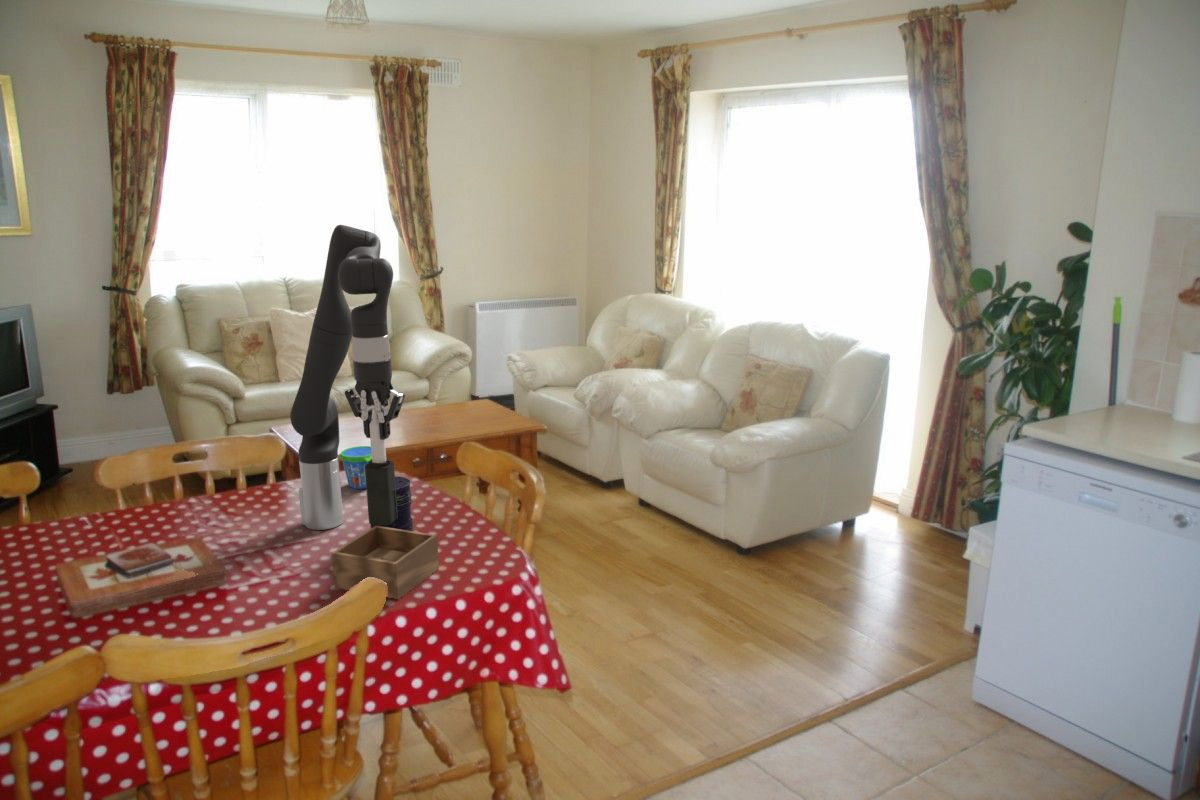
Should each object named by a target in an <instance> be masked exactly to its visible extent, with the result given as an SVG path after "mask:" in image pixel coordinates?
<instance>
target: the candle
mask: <svg viewBox="0 0 1200 800" xmlns="http://www.w3.org/2000/svg"><path fill="white" fill-rule="evenodd" d="M373 410H374V411H373V417H372V420H371V422H370V424H369V427H370V438H369V439H370V446H371V454H372V459H371V460H370V461H368V464H367V465H366V466H365V476H366V488H365V489H366V497H367V498H366V499H367V500H366V501H367V502H366V503H367V512H368V514H367V515H368V524H370V525H371V524H373V525H390V524H392V522H393V521H394V520H396V519H397V518H398V515H397V500H396V486H395V476H396V473H395V462H394V461H393V460H391V459H390V458H388V457H387V452H386V451H387V450H386V439H385V440H381V439H380V429H379V423H380V420H379V415H378V412H376V409H375V407H374V409H373Z"/></svg>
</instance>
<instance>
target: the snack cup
mask: <svg viewBox="0 0 1200 800" xmlns="http://www.w3.org/2000/svg"><path fill="white" fill-rule="evenodd" d="M339 458H340V459H341V461H342V463H343V468H344V473H345V477H346V480H347V483H348V486H349V487H350V488H352V489H354V490H363V489H366V476H365V466H366V465H367V464H368V461H370V460H371V459H372V454H371V445H360V446H354V447H349V448H346V449H344V450H342V451H340V453H339Z"/></svg>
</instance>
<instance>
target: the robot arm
mask: <svg viewBox="0 0 1200 800" xmlns="http://www.w3.org/2000/svg"><path fill="white" fill-rule="evenodd" d="M381 246H382V245H381V240H380V237H379V236H378V235H377V234H375V233H373V232H371V231H368V230H365V229H364V230H363V229H361V228H355V227H352V226H348V225H346V224H345V225H344V224H337V225H336V226H335V227H334V229H333V231H332V233H331V237H330V241H329V246H328V252H327V257H326V264H325V270H324V276H323V281H322V285H321V286H322V288H321V291H320V296H319V299H318V300H319V301H318V305H317V306H316V311H315V314H314V319H313V322H312V325H311V331H310V336H309V340H308V341H309V342H308V347H307V350H306V357H305V360H304V366H303V372H302V376H301V381H300V384H299V386H298V389H297V392H296V396H295V398H294V401H293V404H292V407H291V408H290V409H291V410H290V423H291V425H292V428H293V430H294V431H295V432H296V433H298V435H300V436H301V437H302V438H301V442H300V445H299V448H298V463H299V464H298V465H299V472H300V483H301V487H300V488H299V489H298V496H299V508H300V516H301V517H300V519H301V520H300V521H301V525H303V526H304V527H306V528H307V529H309V530H314V531H315V530H317V531H319V530H320V531H323V530H329V529H333V528H336V527H339V526H341V525H342V524H343V523H344V513H343V512H344V511H343V500H342V499H343V497H342V490H341V489H342V488H341V487H342V486H341V477H340V476H341V475H340V464H339V454H338V453H339V452H338V451H339V445H340V421H339V411H338V407H337V405H336V402H335V400H334V399H333V397H331V392H332V388H333V385H334V382H335V379H336V378H337V375H338V374H339V372H340V370H341V368H342V366H343V363H344V362H345V359H346V357H347V355H348V351H349V349H350V345H351V344H352V345H351V347H352V348H351V349H352V350H351V351H352V352H351V353H352V361H353V375H354V376H353V377H354V378H353V379H354V380H355V381H356V382H355V386H354V387H352V388H349V389H347V390H344V395H345V398H346V400H347V402H348V405H349V407H350V409H351V411H352V413H353V416H354V417H355V418H360V419H361V420H362V425H363V433H364V435H365V437H366V439H370V427H369V424H370V422H371V420H372V418H373V414H374V410H373V409H374V408H375V409H376V412H378V415H379V420H380V423H379V429H380V439H381V440H385V441H386V440H387V439H389V437H390V436H391V421H392V420H394V419H398V417H399V415H400V412H401V409H402V406H403V403H404V402H405V397H406V394H405V393H403V392H401V393H400V392H397V391H396V390H395V389H394V387H393V384H392V377H393V372H392V371H393V369H392V357H391V354H392V353H391V345H390V339H389V332H388V330H389V329H388V304H389V297H390V293H391V290H392V284H393V279H394V270H393V267H392V265H391V263H390V262H389V260H387V259H386V258H381V257H380V256H381ZM344 292H345V294H348V295H357V296H359V295H373V294H375V298H374V299H373V300H372V301H371V302H369V303H366V304H362V305H359V306H358V305H357V306H355V307H354V308H352V309H350V307H349V304H348V302H347V299H346V296H345V294H344ZM390 402H391V403H390Z"/></svg>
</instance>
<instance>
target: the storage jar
mask: <svg viewBox="0 0 1200 800" xmlns="http://www.w3.org/2000/svg"><path fill="white" fill-rule="evenodd" d="M395 486H396V500H397V515H398V518H397V519H396V520H394V521H393V522H392V524H390V525H373V524H370V529H371V528H373V527H374V526H382V527H388V528H395V529H401V530H407V531H414V519H413V517H412V509H411V506H412V500H413V499H412V490H411V481H410V479H409V478H407V477H404V476H397V475H395ZM414 532H415V531H414Z"/></svg>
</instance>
